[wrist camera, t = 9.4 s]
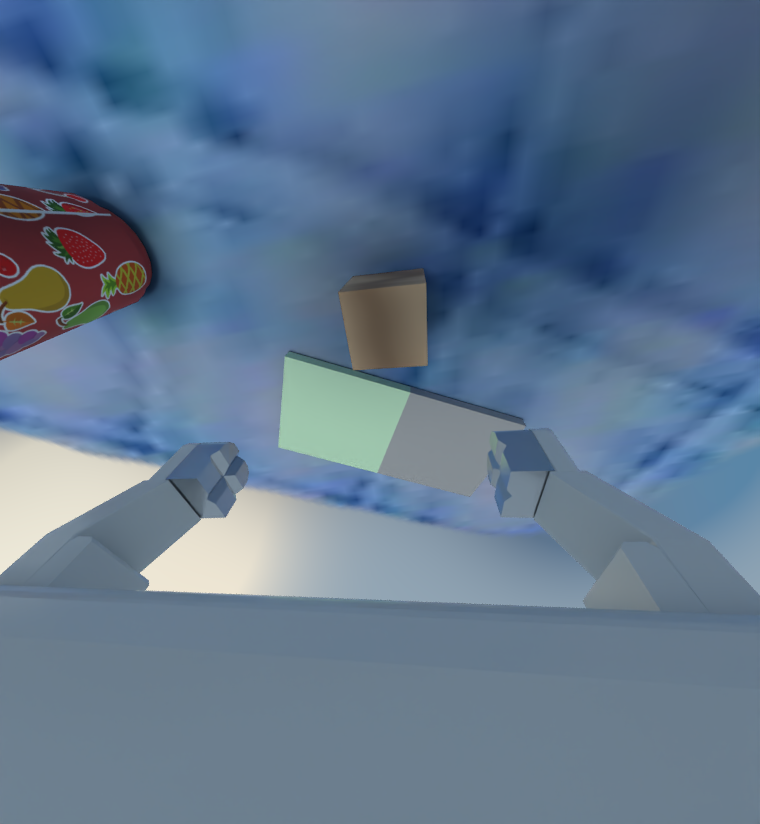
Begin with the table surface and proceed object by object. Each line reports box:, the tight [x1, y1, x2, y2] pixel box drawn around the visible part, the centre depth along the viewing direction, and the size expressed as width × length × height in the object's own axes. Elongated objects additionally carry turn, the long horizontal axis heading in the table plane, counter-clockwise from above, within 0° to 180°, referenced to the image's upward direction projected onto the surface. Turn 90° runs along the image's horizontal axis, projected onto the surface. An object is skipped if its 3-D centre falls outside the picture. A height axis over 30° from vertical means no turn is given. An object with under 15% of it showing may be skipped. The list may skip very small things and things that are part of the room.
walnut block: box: [338, 268, 428, 370], centre depth 19 cm, size 5×5×5 cm
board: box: [278, 352, 526, 497], centre depth 27 cm, size 22×11×1 cm, turn 74°
